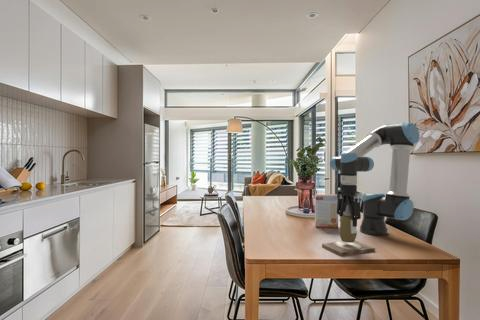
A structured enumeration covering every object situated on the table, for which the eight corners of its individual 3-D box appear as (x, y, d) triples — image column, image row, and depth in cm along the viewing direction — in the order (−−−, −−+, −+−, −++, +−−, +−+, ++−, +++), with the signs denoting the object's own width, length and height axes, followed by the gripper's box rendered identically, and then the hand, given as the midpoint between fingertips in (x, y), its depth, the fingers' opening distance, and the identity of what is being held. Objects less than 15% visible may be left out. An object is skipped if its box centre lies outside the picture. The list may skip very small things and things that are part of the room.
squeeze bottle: (352, 238, 142) (352, 203, 142) (359, 243, 134) (360, 205, 134) (336, 238, 142) (336, 203, 141) (343, 243, 134) (343, 205, 133)
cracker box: (336, 225, 184) (336, 194, 184) (338, 228, 178) (338, 195, 178) (314, 225, 185) (314, 193, 185) (315, 227, 179) (316, 194, 179)
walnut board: (353, 242, 148) (353, 239, 148) (375, 251, 135) (375, 247, 135) (321, 246, 141) (321, 243, 141) (341, 256, 128) (341, 251, 128)
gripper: (329, 182, 145) (328, 227, 145) (357, 186, 127) (356, 237, 127) (341, 182, 148) (340, 225, 148) (370, 185, 130) (369, 235, 130)
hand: (348, 231), depth 138 cm, fingers closed on squeeze bottle, 6 cm apart
